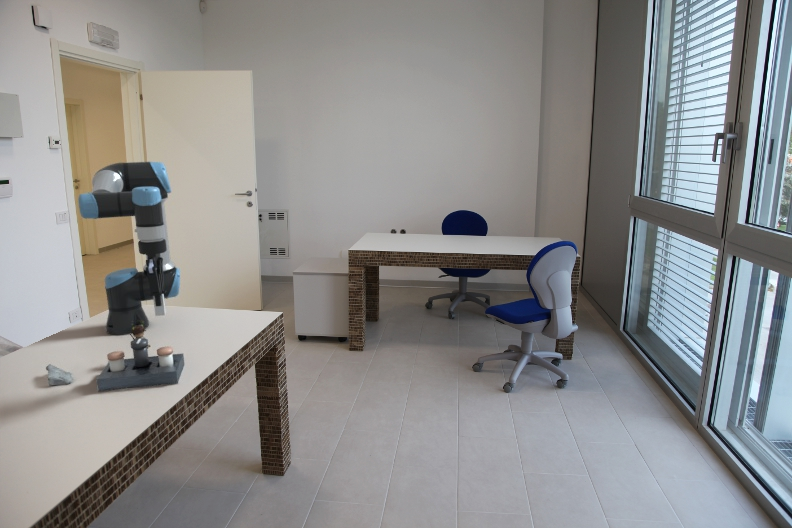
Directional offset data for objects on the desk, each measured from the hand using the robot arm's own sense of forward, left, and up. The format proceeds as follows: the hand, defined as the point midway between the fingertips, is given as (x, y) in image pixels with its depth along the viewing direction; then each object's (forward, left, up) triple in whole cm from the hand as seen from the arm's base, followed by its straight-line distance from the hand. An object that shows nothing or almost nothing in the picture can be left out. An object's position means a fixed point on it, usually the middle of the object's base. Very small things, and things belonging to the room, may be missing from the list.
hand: (160, 314), depth 161 cm
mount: (0, -7, -20) cm, 21 cm away
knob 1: (0, -14, -19) cm, 24 cm away
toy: (-13, -10, -20) cm, 26 cm away
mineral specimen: (-5, -32, -20) cm, 39 cm away
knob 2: (0, 0, -19) cm, 19 cm away
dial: (0, -7, -15) cm, 17 cm away
